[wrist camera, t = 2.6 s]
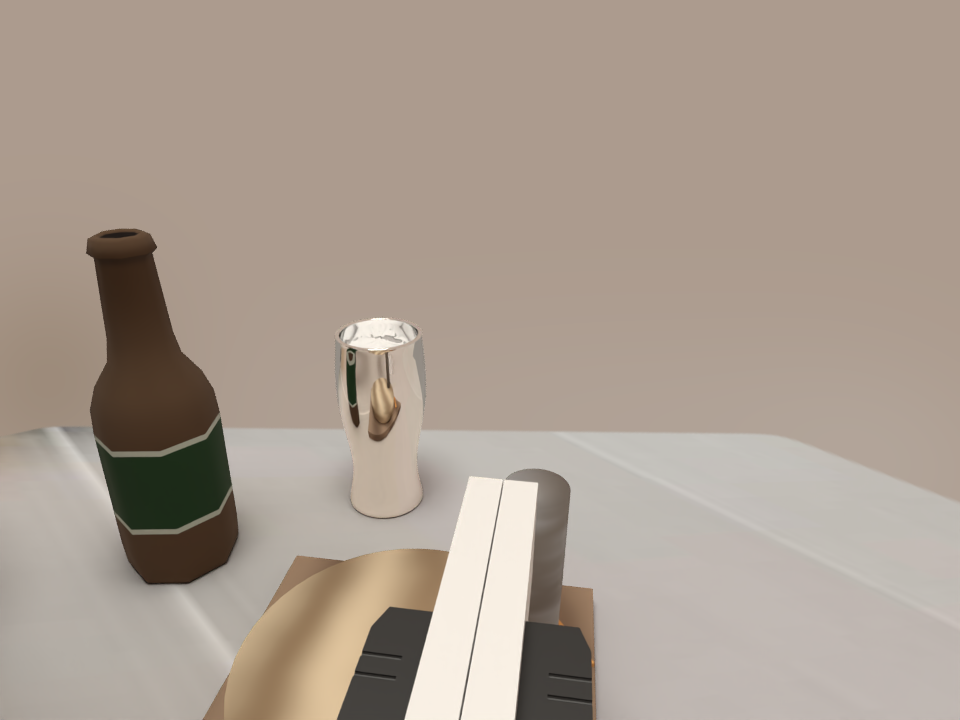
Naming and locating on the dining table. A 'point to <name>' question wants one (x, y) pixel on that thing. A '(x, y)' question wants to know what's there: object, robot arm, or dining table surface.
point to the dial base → (573, 599)
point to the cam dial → (367, 617)
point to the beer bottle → (157, 425)
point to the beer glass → (382, 411)
